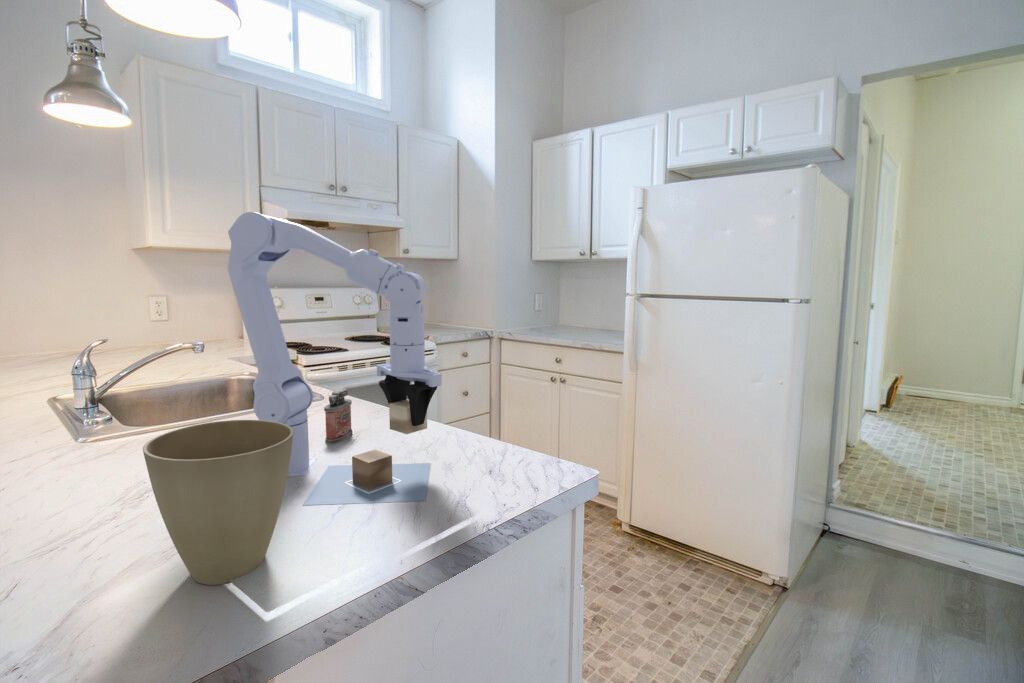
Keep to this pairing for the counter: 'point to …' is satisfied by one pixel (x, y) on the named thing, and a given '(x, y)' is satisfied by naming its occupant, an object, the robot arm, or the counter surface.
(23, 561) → the counter surface
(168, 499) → the plant pot
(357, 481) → the walnut block
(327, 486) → the blueprint board
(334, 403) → the lighter
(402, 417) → the ash block
